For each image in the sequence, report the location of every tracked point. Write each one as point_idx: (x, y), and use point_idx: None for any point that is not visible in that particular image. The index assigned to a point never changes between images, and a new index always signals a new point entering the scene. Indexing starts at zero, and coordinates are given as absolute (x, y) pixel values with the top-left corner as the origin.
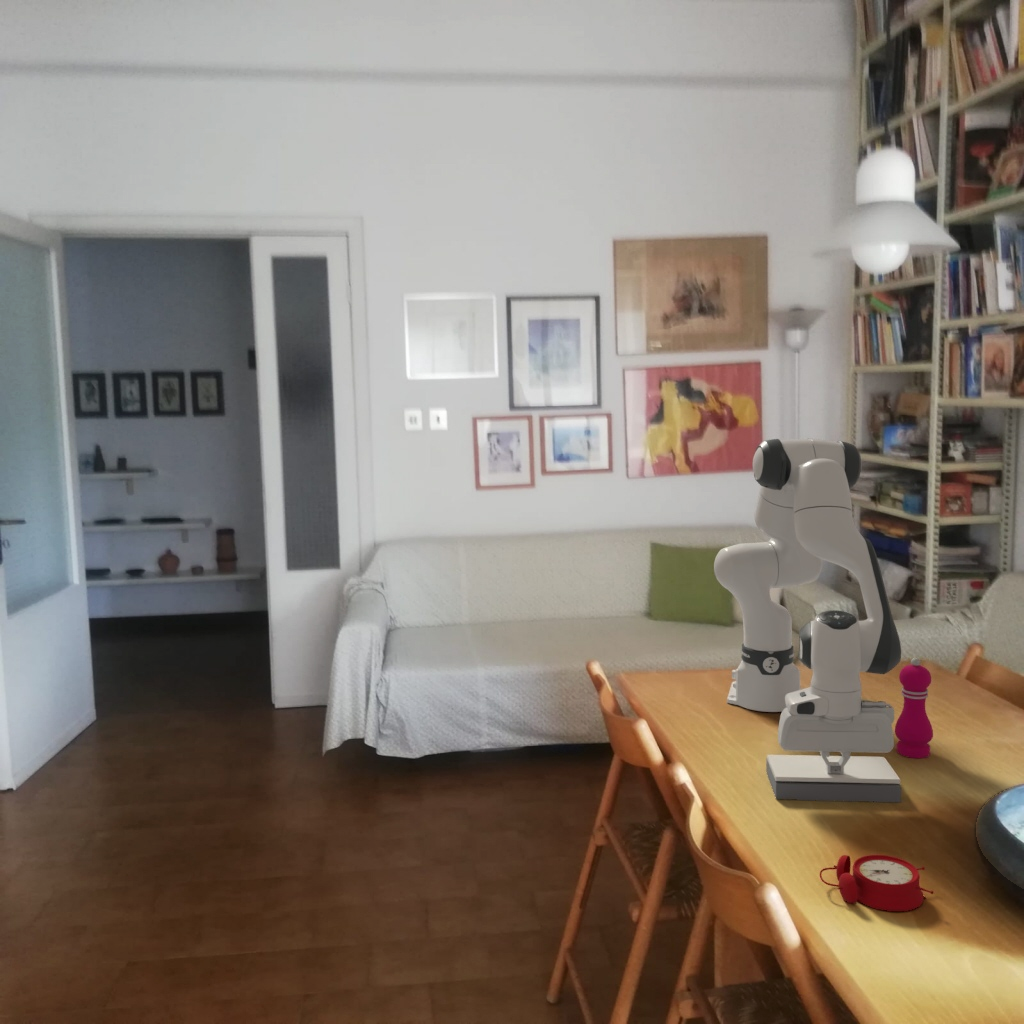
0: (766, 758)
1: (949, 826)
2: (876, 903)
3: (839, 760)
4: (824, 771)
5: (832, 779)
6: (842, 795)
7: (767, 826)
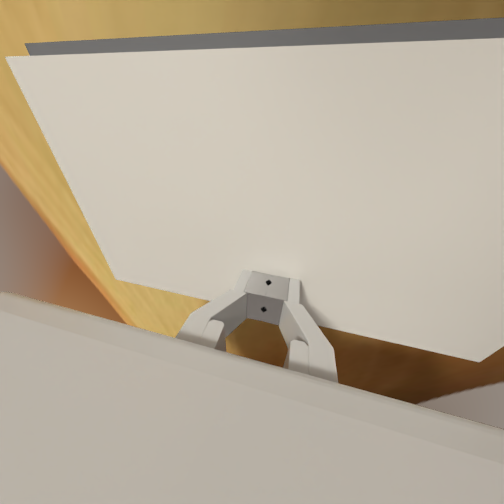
0: (27, 44)
1: (436, 381)
2: None
3: (286, 312)
4: (239, 270)
5: None
6: None
7: (158, 319)
